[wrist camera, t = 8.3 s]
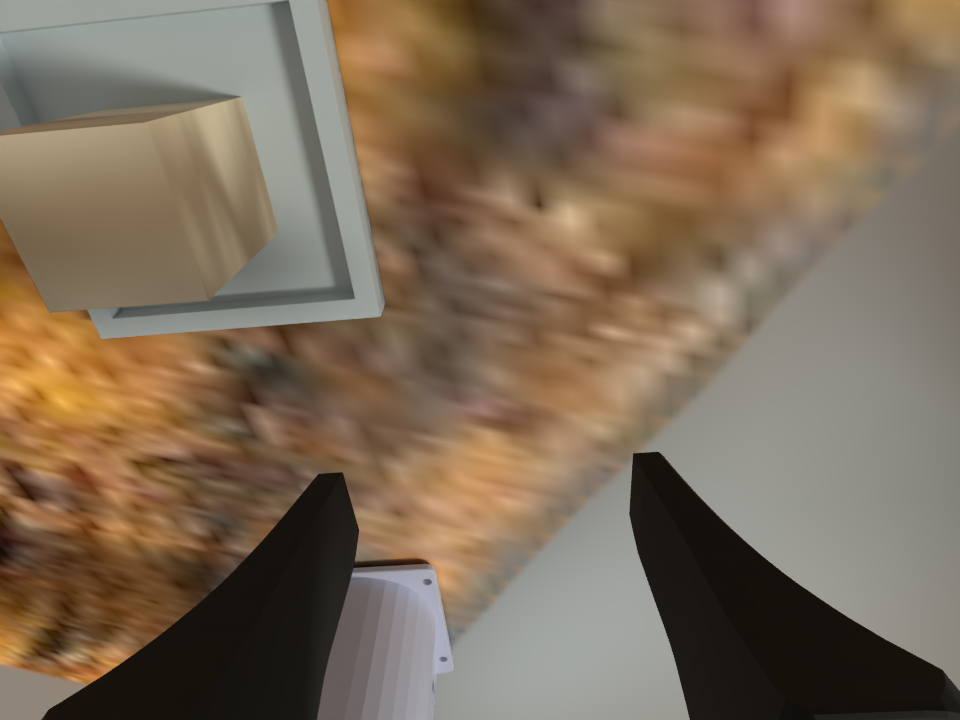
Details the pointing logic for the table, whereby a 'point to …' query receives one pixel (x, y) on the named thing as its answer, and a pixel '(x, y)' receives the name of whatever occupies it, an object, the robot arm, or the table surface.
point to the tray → (273, 121)
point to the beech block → (135, 203)
